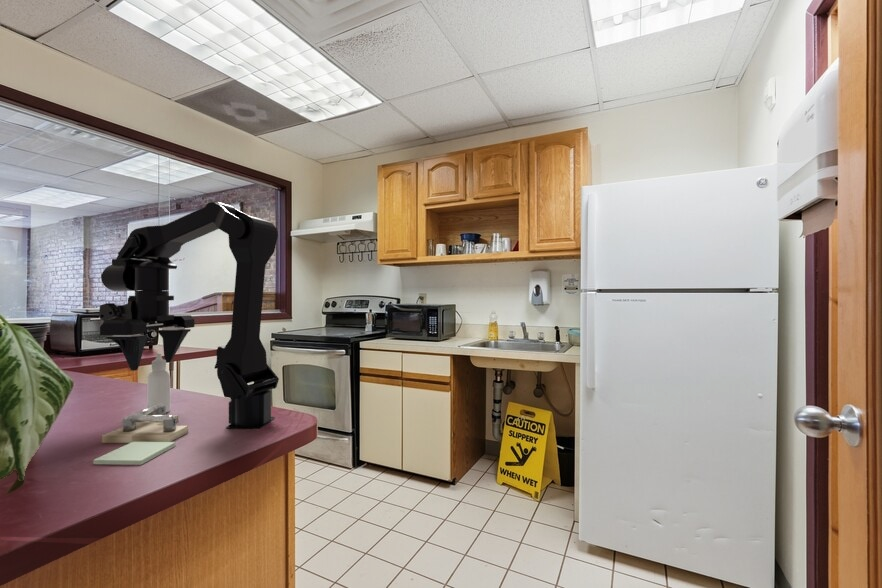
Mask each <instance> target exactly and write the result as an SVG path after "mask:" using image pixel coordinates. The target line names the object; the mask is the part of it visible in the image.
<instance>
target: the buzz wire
mask: <svg viewBox="0 0 882 588" xmlns="http://www.w3.org/2000/svg"><path fill="white" fill-rule="evenodd" d="M152 413H154V414H152ZM177 422H179V414H167V412H166V406H165V405H163V404H157V405H154V406H152V407H149V408H147V407H146V408H144V409H141V410H139V411H136V412H133V413H131V414H128V415H127V416H125V417H124V418H122V427H120V428H116V429H114V430H112V431H110V432H107V433H105V434H102V435H101V444H102V443H105V444H106V443H107V444H110V443H111V444H116V443H117V444H129V443H131V442H174V441H175V440H177V439H179V438H181V437H182V436H184V435H187V434H188V433H189V425H177Z"/></svg>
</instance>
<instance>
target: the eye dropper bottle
mask: <svg viewBox="0 0 882 588" xmlns="http://www.w3.org/2000/svg"><path fill="white" fill-rule="evenodd" d="M155 356H156V357H155V359H154V360H152V361H151V372H150V373H148V375H147V380H146V381H147V385H146V386H147V387H146V388H147V390H146V391H147V392H146V393H147V395H146V396H147V397H146V399H147V400H146V403H147V404H146V408H149V407H152V406H154V405H157V404H163V405H165V406H166V413H169V412H171V375H170V373H169V372H168V371H167V362H166V360H165V358H164V359H163V357H162V354H161V353H157V354H156V355H155ZM151 415H154V413H152V414H151Z"/></svg>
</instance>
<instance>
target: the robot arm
mask: <svg viewBox="0 0 882 588" xmlns="http://www.w3.org/2000/svg"><path fill="white" fill-rule="evenodd" d="M217 230H220V231H222V232H224V233H225V234H227V235H228V246H229V250H230V251H231V253H232V256H233V258H234V260H235V262H236V269H235V281H234V293H233V306H232V307H233V308H232V318H231V319H232V320H231V331H230V338H229V340H228V342H227V343H226V345H220V346H217V348H216V362H215V365H214V369H216V373H217V374H216V375H217V378H218V380H219V383H220V384H219V385H220V386H221V391H222V393H223V397H224V398H229V399H230V401H229V402H228V425H226V427H225V429H226V430H227V429H228V430H229V429H230V430H231V429H232V430H260V429H262V428H263V427H265V426H266V425H268V424H269V423H271V422H272V421H273V420H275V419H276V417H275V416H272V390H273V389H277V387H278V383H279V380H280V378H279V377H278V376H277V374H276V373H275V372H274V371H273V370H272V368H271V367H270V365H268V361H267V350H266V349H265V346H264V345H263V342H262V340H261V339H260V337H261V336H260V333H261V325H262V324H261V323H262V311H263V296H264V287H265V285H264V284H265V273H266V272H265V271H266V266H267V263H268V262H269V260H270V259H271V257H272V256H273V255H274V253H275V251H276V245H277V241H278V236H279V233H278V232H279V231H278V229H277V227H276V226H275V224H274V223H273V222H272V221H270V220H266V219H264V218H260V217H255V216H252V215H249V214H247V213H245V212H242V211H241V210H239V209H237V208H235V207H234V206H232V205H230V204H225V203H223V202H219V201H210V202H207V203H206V205H205V206H203V207H201V208H199V209H197V210H194V211H192V212H190V213H188V214H185V215H183V216H181V217H179V218H176V219H175V220H173V221H170V222H168V223H166V224H162V225H147V226H143V227H138V228H135V229H133V230H132V231H131V232H130V233H129V235H128V237H127V238H126V240H125V242H124V244H123V246H122V248H120V250H119V251H118V253H117V257H116V258H112V259H111V264H110V265H107V266H106V267H105V268H104V269H103V271H102V273H101V274H100V280H101V283H102V285H103V286H104V287H105V288H107V289H108V290H110V291H112V292H113V291H114V292H128V291H129V292H134V295H128V297H127V303H126V304H123V305H121V304H120V305H116V304H115V303H114V302H110V303H109V302H108V303H107V302H106V303H103V304H100V305H99V310H98V311H99V312H98V315H99V319H100V320H101V321H102V322H101V324H99V336H105V339H106V340H111V341H113V342H114V343H116V344H117V345H118V346H119V348H120V350H121V351H122V354H123V356H124V358H125V361H126V362H127V365H128V366H129V369H130V371H138V370H139V366H140V364H141V361H142V357H143V353H144V349H145V345H146V340H147V337H148V335H147V334H144V333H145V332H146V331H147V330H154V329H156V332H157V333H158V334H159V336H160V337H161V338H162V345H163V357H164V360H166V363H172V361H173V359H174V357H175V355H176V353H177V352H178V349H179V348H180V346H181V345H182V343H183V341H184V339H185V338H186V337H187V335H188V334H189V333H190V332H191V330H192V328H195V318H194V317H193V316H192V315H191V314H190V315H187V314H185V315H184V314H183V315H182V314H181V315H180V314H179V315H175V314H170V301H174V300H175V296H174V295H170V280H169V278H170V277H169V276H170V270H176V269H177V268H178V265H177V264H175V263H174V262H173V261H172V260H171V259H170V258H172V257H173V256H175V255H176V254H178V253H179V252H180V251H181V249H182V246H183V245H185V244H187V243H189V242H192V241H193V240H196V239H199V238H201V237H203V236H206V235H207V234H210V233H212V232H215V231H217ZM190 328H191V329H190Z"/></svg>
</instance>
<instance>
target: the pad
mask: <svg viewBox="0 0 882 588" xmlns="http://www.w3.org/2000/svg"><path fill="white" fill-rule="evenodd" d="M175 447H176V441H171V442H131V443H126V444H125V445H122V446H120V447H119V448H116V449H114V450H112V451H109V452H108V453H105V454H104V455H101V456H99V457H97V458H95V459H93V465H121V466H122V465H125V466H126V465H128V466H129V465H132V466H134V465H136V466H137V465H140V466H142V465H143V464H145V463H147V462H149V461H150V460H152V459H154V458H156V457H158V456H159V455H161V454H163V453H165V452H167V451H169V450H171V449H172V448H175Z"/></svg>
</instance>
